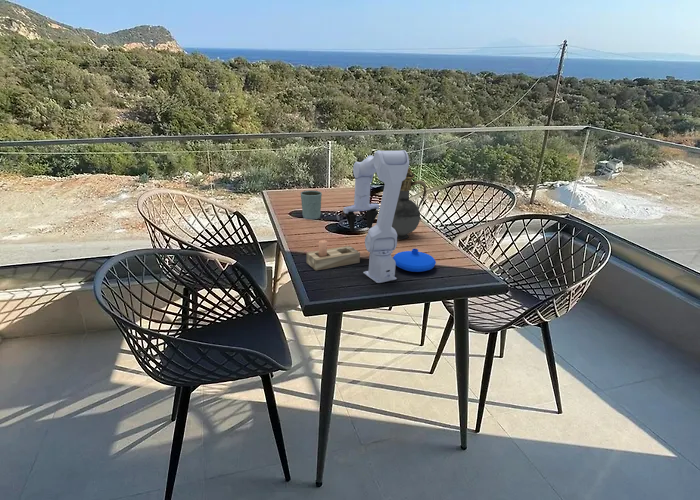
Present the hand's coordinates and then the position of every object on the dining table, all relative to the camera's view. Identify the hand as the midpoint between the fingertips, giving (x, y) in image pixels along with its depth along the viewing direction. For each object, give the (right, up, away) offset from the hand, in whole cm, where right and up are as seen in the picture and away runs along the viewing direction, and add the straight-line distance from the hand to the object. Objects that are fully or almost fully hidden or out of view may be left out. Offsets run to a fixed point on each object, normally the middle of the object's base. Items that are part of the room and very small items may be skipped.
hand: (360, 229), depth 172 cm
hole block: (-10, -13, -5) cm, 17 cm away
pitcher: (+19, -2, +26) cm, 33 cm away
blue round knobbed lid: (+19, -15, -6) cm, 25 cm away
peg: (-14, -13, -7) cm, 21 cm away
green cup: (-23, +8, +48) cm, 54 cm away
